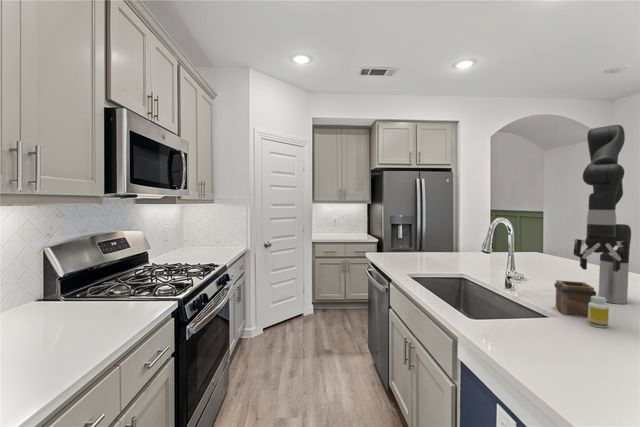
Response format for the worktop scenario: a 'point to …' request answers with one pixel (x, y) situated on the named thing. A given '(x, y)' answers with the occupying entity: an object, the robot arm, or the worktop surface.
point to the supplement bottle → (598, 312)
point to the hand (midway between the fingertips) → (599, 270)
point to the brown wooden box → (573, 297)
